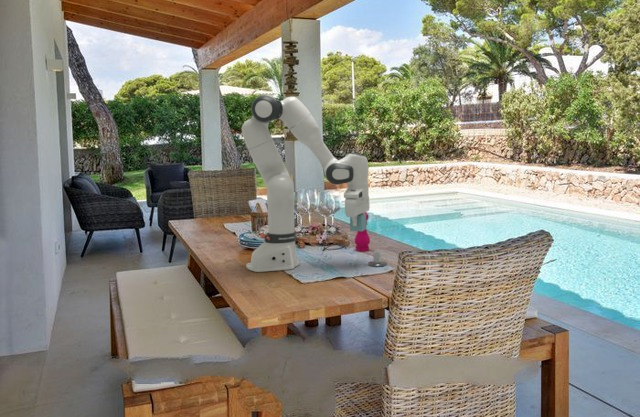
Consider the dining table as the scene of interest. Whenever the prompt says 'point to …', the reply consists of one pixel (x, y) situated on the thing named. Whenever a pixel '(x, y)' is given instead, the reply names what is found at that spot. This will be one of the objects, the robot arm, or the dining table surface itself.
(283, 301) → the dining table surface
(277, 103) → the robot arm
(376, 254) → the grey round stand
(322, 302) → the dining table surface
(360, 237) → the pepper mill
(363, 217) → the teal rectangular block
